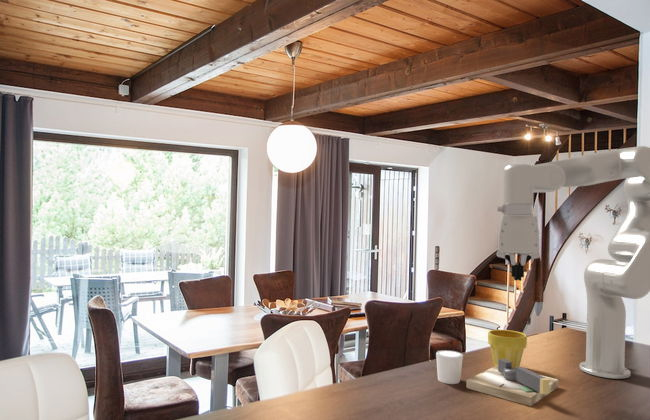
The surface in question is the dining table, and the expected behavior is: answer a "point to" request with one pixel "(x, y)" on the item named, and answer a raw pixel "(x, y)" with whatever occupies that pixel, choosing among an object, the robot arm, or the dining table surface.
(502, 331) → the plant pot
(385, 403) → the dining table surface
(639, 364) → the dining table surface
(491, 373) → the tuner board
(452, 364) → the white cup
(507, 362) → the grey dial pointer
